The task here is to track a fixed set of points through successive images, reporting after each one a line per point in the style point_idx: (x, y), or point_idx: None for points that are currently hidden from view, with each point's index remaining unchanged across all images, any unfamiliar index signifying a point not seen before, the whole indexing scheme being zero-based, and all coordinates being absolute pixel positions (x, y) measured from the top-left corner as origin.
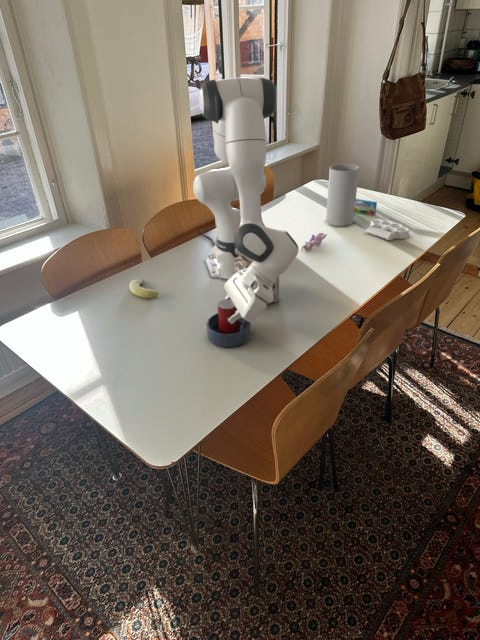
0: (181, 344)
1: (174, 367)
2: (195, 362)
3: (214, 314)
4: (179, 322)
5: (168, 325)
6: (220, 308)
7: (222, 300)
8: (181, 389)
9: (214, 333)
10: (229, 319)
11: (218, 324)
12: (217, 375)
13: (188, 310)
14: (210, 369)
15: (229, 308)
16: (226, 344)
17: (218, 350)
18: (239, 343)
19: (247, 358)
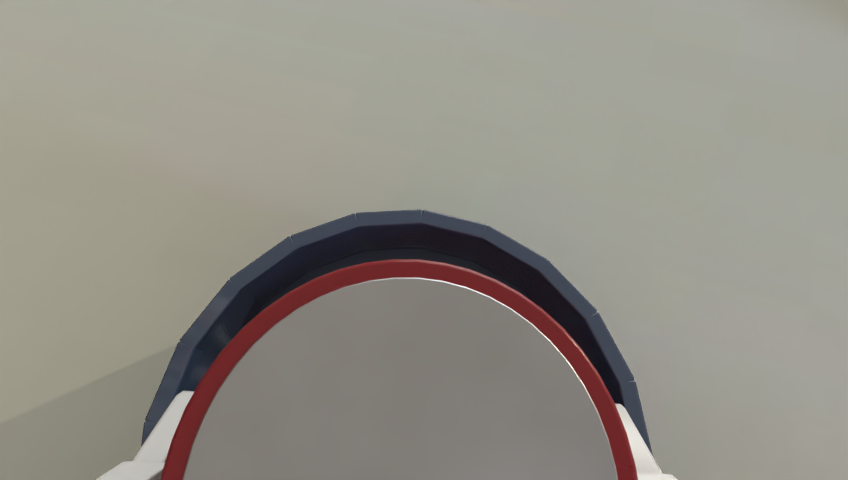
0: (437, 96)
1: (240, 18)
2: (218, 120)
3: (611, 340)
4: (688, 143)
5: (667, 80)
6: (309, 283)
7: (600, 426)
8: (41, 5)
9: (285, 241)
10: (173, 411)
11: None
12: (10, 199)
13: (838, 234)
14: (96, 178)
15: (186, 476)
16: None
17: None
18: None
19: (32, 473)
